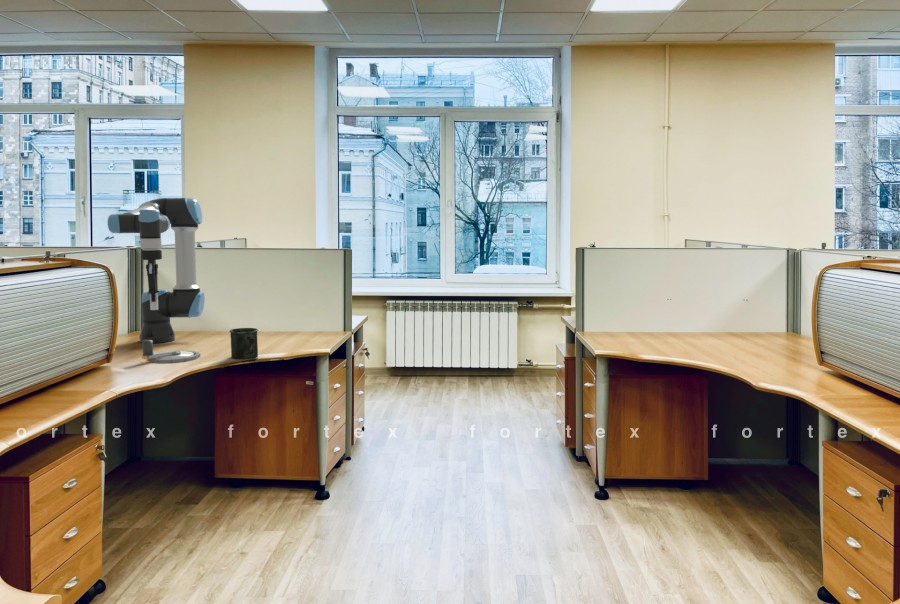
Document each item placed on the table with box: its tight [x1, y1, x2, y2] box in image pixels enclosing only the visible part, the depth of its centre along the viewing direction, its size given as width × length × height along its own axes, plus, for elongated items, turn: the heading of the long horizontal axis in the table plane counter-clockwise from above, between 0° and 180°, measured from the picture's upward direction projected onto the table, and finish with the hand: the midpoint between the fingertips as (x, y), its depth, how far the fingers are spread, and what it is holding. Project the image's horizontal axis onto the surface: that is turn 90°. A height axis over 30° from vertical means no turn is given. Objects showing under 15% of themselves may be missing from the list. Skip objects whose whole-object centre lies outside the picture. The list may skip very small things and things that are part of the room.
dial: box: [141, 340, 194, 360], centre depth 275 cm, size 20×14×8 cm
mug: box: [228, 327, 259, 363], centre depth 278 cm, size 11×15×12 cm
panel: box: [140, 350, 201, 364], centre depth 278 cm, size 26×26×2 cm
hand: (154, 309), depth 278 cm, fingers closed
